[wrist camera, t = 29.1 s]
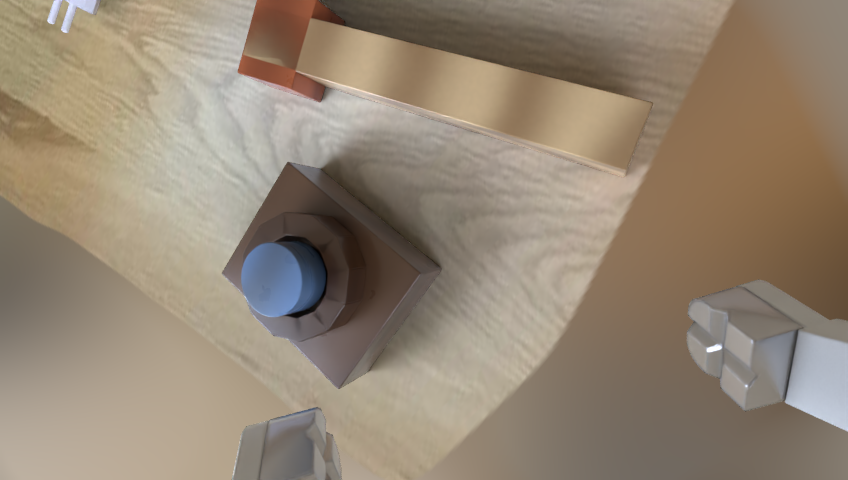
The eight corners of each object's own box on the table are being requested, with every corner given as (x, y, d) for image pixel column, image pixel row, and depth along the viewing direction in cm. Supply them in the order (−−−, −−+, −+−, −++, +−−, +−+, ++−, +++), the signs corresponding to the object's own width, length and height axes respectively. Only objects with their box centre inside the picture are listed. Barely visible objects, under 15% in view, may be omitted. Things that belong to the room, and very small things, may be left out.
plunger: (338, 270, 24) (315, 273, 22) (302, 325, 25) (277, 332, 23) (290, 227, 25) (264, 227, 23) (257, 281, 26) (229, 285, 24)
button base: (442, 268, 27) (407, 277, 22) (366, 373, 29) (319, 401, 24) (319, 168, 30) (265, 156, 25) (257, 269, 32) (196, 276, 27)
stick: (656, 97, 23) (662, 78, 20) (616, 197, 24) (617, 192, 21) (292, 8, 30) (260, -15, 27) (270, 86, 31) (237, 72, 28)
